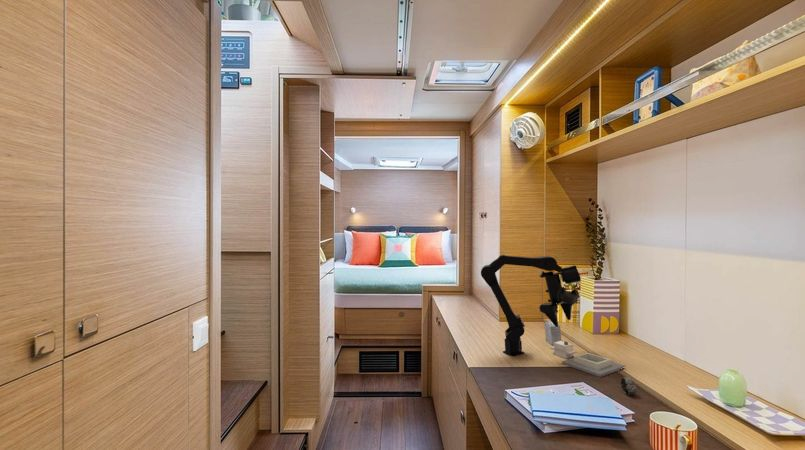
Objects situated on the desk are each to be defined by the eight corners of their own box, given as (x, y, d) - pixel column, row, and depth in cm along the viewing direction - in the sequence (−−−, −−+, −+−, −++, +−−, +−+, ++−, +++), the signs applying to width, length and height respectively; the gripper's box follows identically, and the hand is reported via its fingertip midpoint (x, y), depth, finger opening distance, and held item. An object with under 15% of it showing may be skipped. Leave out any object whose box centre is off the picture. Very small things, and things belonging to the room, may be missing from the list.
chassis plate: (600, 377, 133) (599, 368, 133) (562, 363, 147) (561, 355, 147) (625, 368, 139) (624, 360, 140) (586, 356, 154) (586, 348, 154)
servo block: (570, 360, 151) (569, 344, 151) (550, 353, 160) (549, 339, 160) (577, 358, 153) (576, 343, 153) (557, 351, 162) (556, 337, 162)
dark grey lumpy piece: (623, 398, 120) (630, 390, 117) (618, 382, 124) (624, 374, 120) (633, 398, 120) (640, 391, 116) (627, 382, 124) (634, 375, 120)
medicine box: (561, 345, 169) (560, 325, 169) (551, 345, 169) (550, 326, 170) (555, 339, 177) (554, 321, 177) (545, 340, 177) (544, 321, 177)
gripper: (559, 291, 147) (568, 331, 146) (584, 279, 157) (593, 317, 157) (534, 291, 156) (543, 329, 155) (560, 281, 167) (568, 316, 166)
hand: (563, 323), depth 158 cm, fingers open, 9 cm apart
